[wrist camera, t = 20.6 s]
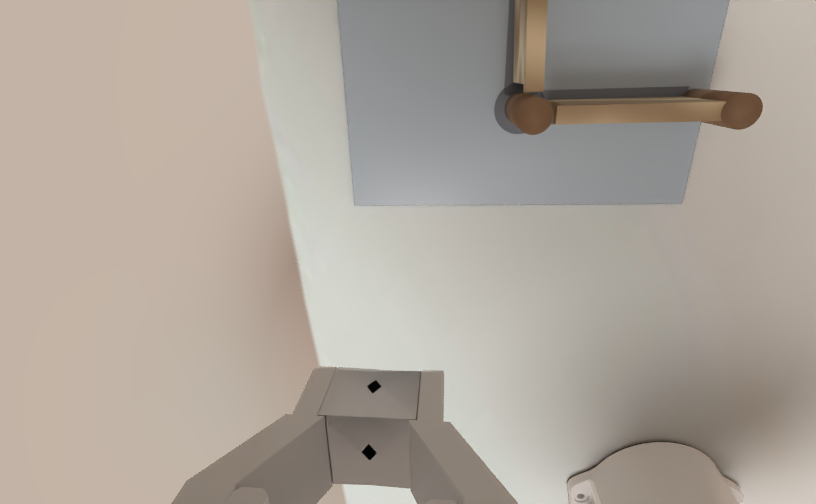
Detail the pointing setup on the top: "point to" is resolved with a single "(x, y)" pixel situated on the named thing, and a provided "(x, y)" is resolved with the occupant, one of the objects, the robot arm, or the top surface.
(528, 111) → the fence fixed panel
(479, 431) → the top surface
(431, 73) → the card
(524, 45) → the panel
